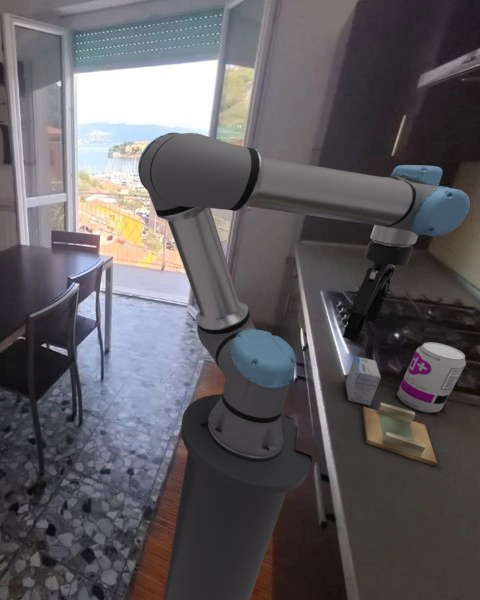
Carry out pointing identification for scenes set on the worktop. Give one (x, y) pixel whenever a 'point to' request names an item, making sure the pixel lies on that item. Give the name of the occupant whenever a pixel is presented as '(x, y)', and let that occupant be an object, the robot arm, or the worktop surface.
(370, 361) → the medicine box
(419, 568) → the worktop surface
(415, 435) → the mount pad
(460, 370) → the supplement can
